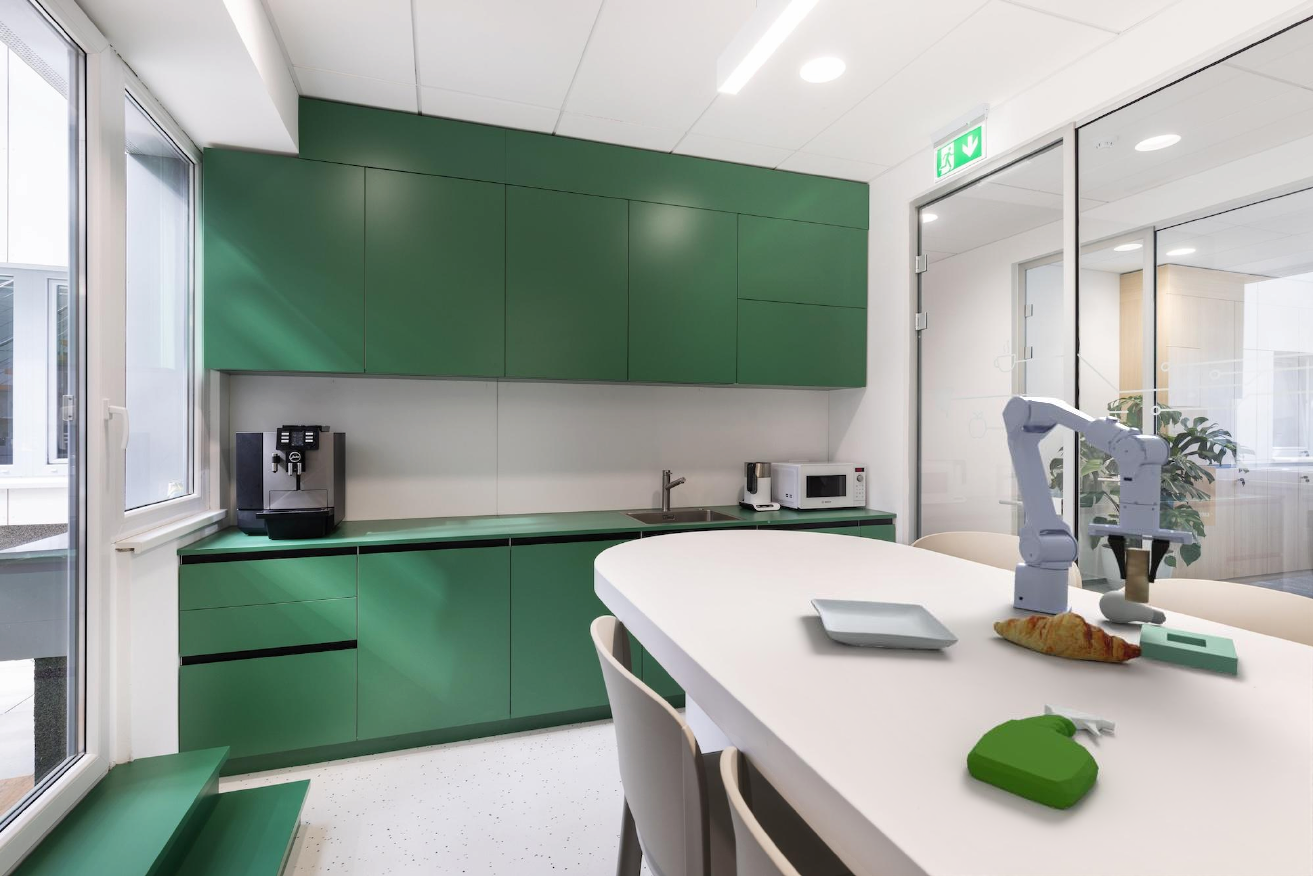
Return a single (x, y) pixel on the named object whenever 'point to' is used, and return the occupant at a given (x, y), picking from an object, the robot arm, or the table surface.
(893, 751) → the table surface
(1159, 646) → the socket block
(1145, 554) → the dowel
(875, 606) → the salad plate
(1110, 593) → the lightbulb
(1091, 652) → the croissant
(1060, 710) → the spray bottle
